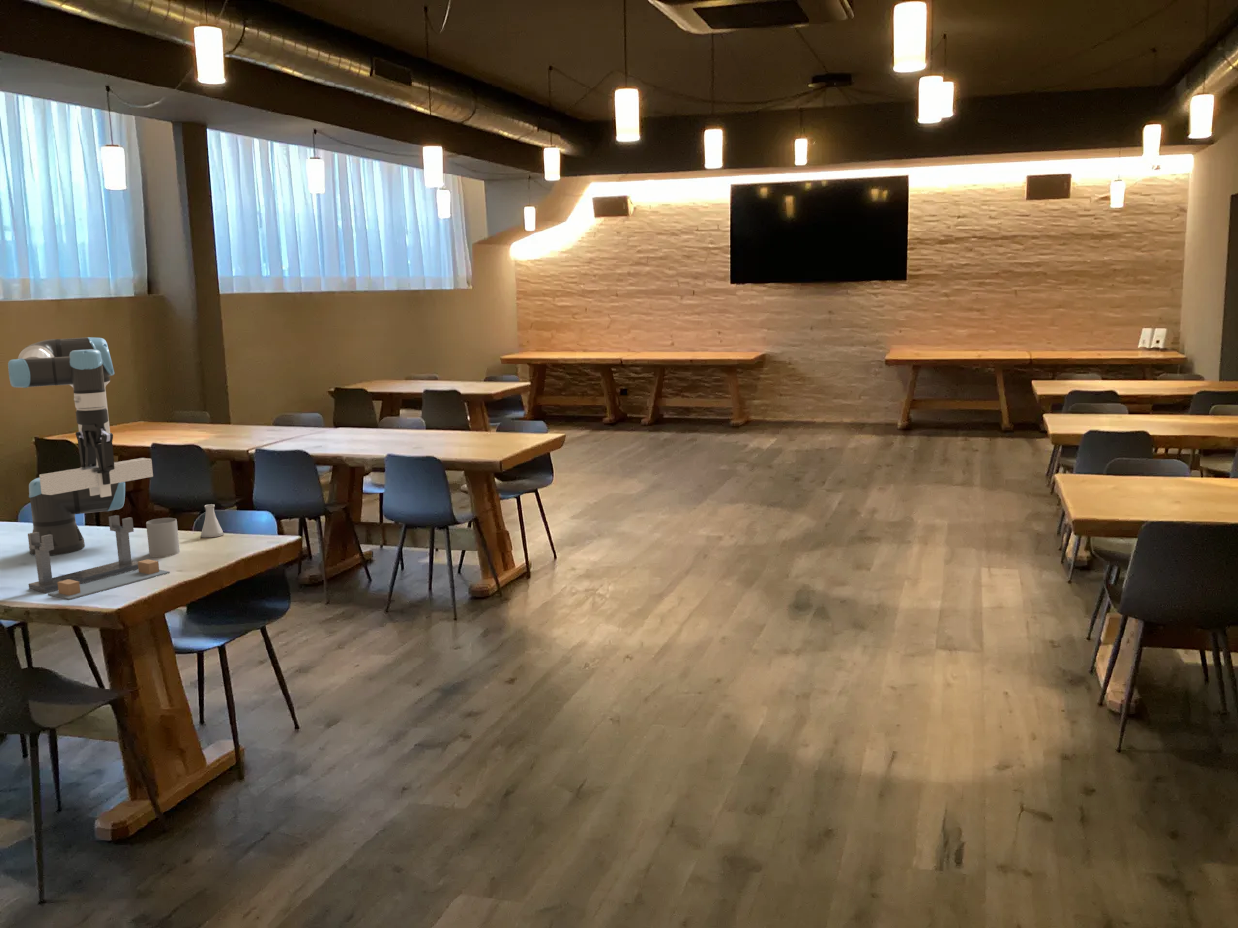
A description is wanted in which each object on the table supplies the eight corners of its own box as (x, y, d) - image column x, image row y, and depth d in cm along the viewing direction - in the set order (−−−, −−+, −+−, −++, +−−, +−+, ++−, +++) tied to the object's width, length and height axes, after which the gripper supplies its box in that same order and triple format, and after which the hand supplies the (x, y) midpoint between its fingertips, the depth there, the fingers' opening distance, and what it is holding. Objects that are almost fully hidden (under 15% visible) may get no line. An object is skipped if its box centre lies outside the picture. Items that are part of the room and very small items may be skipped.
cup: (168, 557, 315) (165, 524, 314) (143, 556, 317) (140, 523, 315) (185, 550, 324) (182, 518, 322) (161, 549, 325) (157, 517, 324)
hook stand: (29, 589, 284) (22, 534, 282) (125, 564, 308) (120, 514, 305) (45, 593, 280) (38, 537, 278) (142, 568, 303) (136, 516, 301)
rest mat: (47, 594, 279) (46, 582, 278) (148, 568, 303) (146, 556, 302) (69, 599, 273) (68, 587, 273) (169, 572, 297) (168, 561, 297)
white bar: (41, 493, 272) (39, 474, 272) (144, 475, 296) (142, 457, 296) (50, 495, 270) (47, 475, 270) (153, 476, 294) (151, 458, 294)
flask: (220, 537, 339) (217, 507, 337) (197, 538, 338) (194, 508, 337) (227, 532, 346) (224, 502, 344) (204, 533, 346) (201, 503, 344)
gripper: (59, 408, 282) (69, 495, 285) (96, 411, 272) (106, 500, 276) (86, 405, 288) (95, 490, 292) (123, 408, 279) (132, 495, 282)
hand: (100, 495), depth 284 cm, fingers closed on white bar, 4 cm apart
